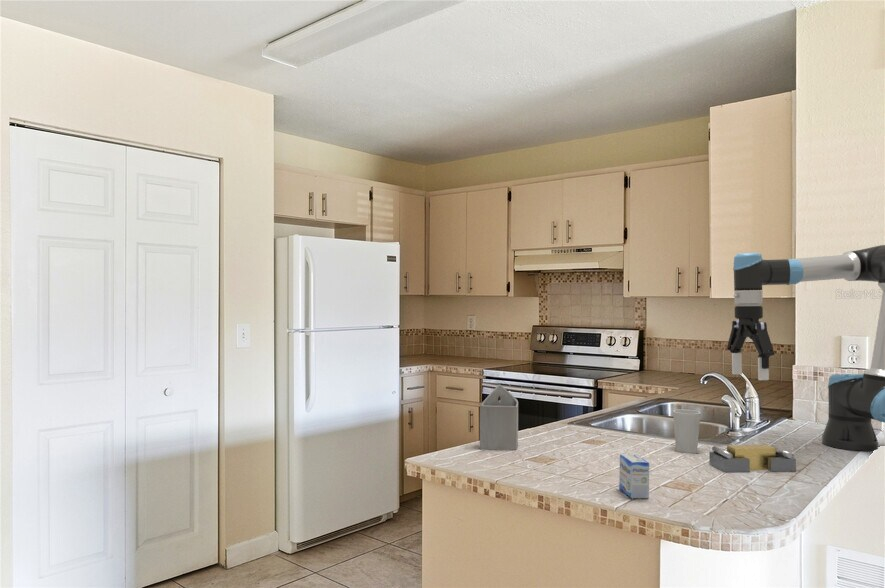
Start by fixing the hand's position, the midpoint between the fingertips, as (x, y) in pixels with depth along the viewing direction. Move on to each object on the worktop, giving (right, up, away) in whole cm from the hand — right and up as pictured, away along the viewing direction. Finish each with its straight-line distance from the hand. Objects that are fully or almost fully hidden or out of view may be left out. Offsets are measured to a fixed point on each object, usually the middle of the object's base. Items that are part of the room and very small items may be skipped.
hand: (749, 377), depth 187 cm
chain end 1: (-12, -24, -12) cm, 29 cm away
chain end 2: (+1, -24, -11) cm, 26 cm away
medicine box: (-45, -24, -36) cm, 62 cm away
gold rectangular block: (-5, -24, -11) cm, 27 cm away
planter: (-71, -24, +10) cm, 75 cm away
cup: (-16, -24, +8) cm, 30 cm away
